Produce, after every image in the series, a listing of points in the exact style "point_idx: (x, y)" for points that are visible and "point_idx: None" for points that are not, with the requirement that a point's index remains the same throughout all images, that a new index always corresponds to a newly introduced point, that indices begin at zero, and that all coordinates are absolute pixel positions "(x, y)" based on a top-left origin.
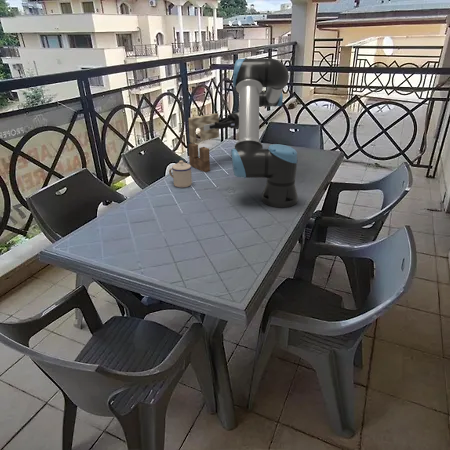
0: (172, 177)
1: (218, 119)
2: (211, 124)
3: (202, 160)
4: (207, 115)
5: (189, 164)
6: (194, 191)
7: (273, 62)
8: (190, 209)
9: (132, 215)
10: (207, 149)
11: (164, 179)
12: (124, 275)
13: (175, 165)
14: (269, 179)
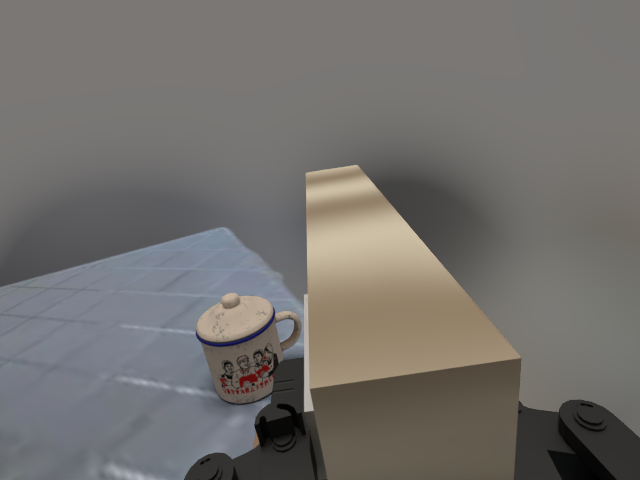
0: (287, 341)
1: None
2: (305, 371)
3: None
4: (346, 229)
5: (218, 334)
6: (169, 384)
7: None
8: (111, 340)
9: (210, 273)
10: (254, 443)
11: None
12: (103, 258)
13: (246, 297)
14: None
